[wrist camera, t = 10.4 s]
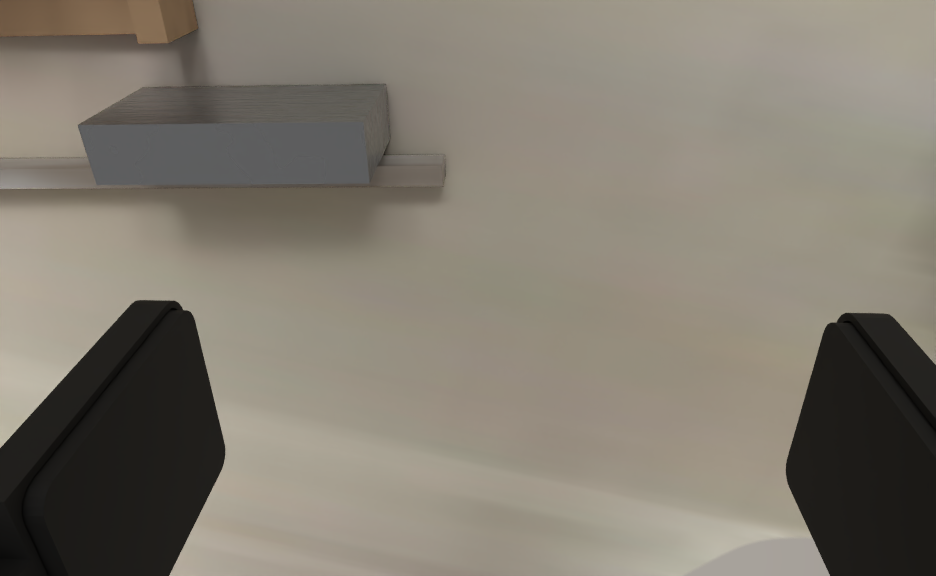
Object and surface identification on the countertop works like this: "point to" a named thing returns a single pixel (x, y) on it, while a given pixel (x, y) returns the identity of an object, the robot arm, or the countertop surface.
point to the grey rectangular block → (240, 135)
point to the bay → (153, 21)
